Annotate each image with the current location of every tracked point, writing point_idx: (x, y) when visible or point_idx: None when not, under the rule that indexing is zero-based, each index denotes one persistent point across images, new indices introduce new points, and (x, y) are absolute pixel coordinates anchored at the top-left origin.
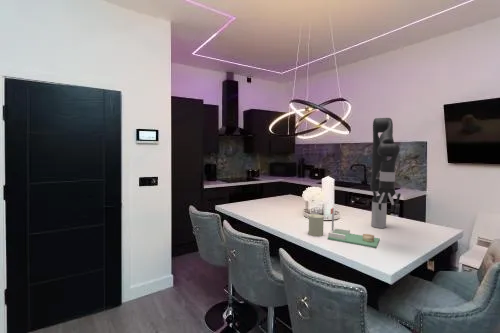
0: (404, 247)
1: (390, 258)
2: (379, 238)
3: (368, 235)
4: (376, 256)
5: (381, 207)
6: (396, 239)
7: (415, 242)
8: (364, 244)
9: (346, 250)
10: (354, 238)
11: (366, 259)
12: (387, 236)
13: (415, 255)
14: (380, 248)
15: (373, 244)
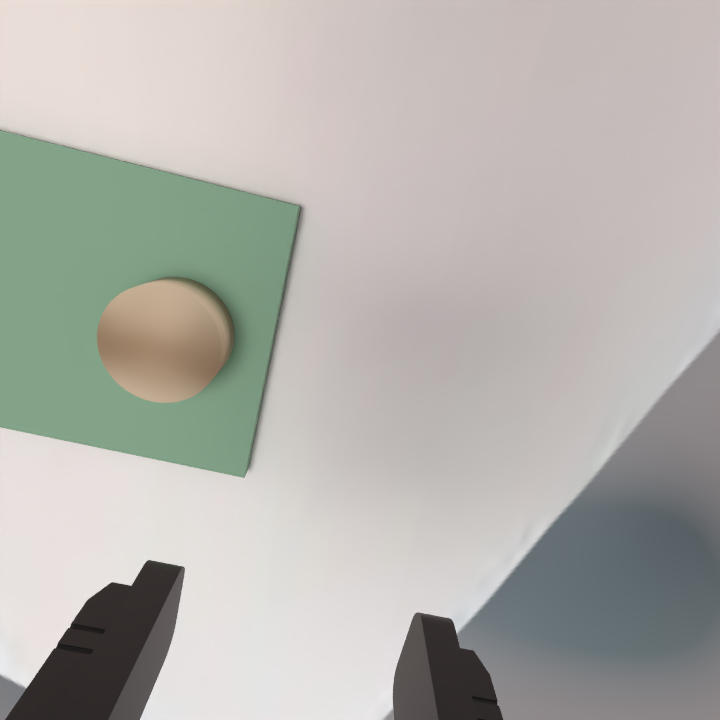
0: (497, 363)
1: (331, 633)
2: (298, 209)
3: (160, 351)
4: (241, 629)
5: (157, 628)
6: (490, 109)
7: (665, 154)
8: (148, 456)
9: (28, 590)
10: (42, 311)
11: (176, 695)
12: (412, 8)
13: (525, 524)
14: (285, 460)
15: (225, 435)
